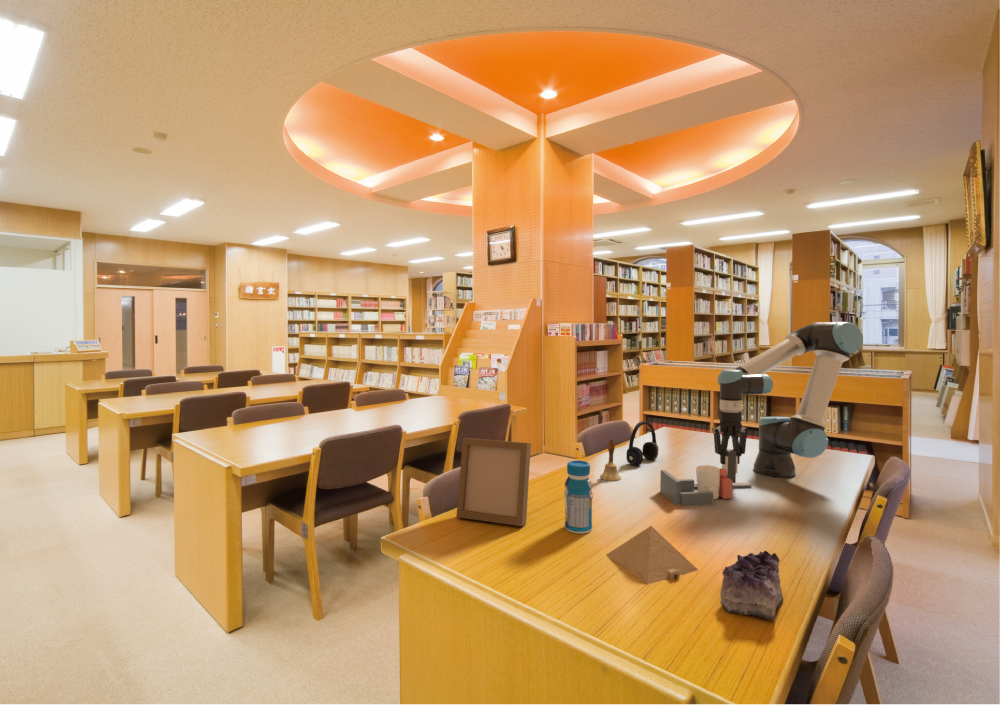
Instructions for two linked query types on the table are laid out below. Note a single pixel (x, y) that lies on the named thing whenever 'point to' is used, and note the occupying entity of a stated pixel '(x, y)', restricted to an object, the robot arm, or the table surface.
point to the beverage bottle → (578, 498)
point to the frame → (675, 491)
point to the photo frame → (494, 481)
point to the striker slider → (728, 475)
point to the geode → (752, 586)
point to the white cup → (708, 479)
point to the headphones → (648, 449)
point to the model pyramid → (651, 557)
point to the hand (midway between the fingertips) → (729, 472)
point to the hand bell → (610, 465)
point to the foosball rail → (734, 485)
